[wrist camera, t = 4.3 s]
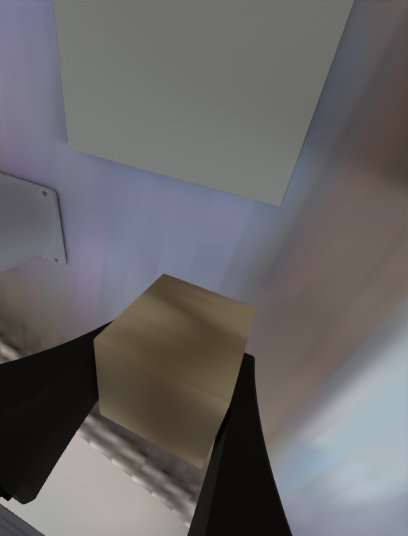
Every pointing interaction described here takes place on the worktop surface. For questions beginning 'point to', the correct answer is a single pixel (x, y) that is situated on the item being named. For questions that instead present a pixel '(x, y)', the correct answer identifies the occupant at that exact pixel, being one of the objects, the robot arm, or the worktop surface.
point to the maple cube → (173, 365)
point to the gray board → (197, 85)
